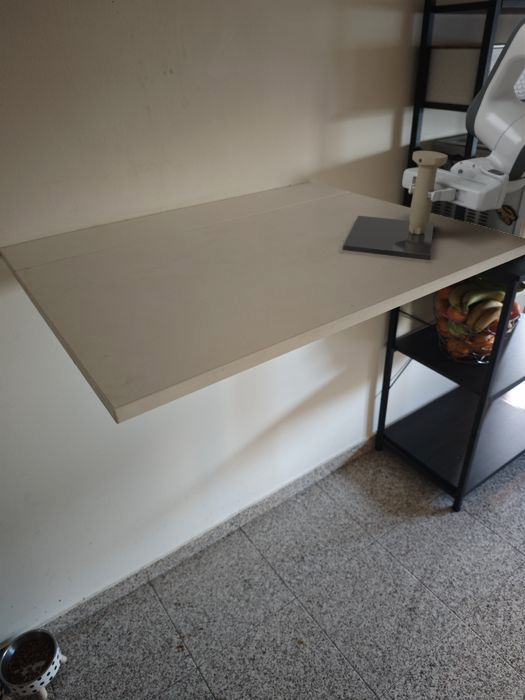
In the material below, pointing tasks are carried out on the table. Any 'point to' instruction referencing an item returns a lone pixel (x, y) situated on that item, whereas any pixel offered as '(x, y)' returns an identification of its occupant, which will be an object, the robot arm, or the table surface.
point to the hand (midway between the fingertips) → (420, 193)
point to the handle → (424, 188)
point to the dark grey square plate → (388, 238)
